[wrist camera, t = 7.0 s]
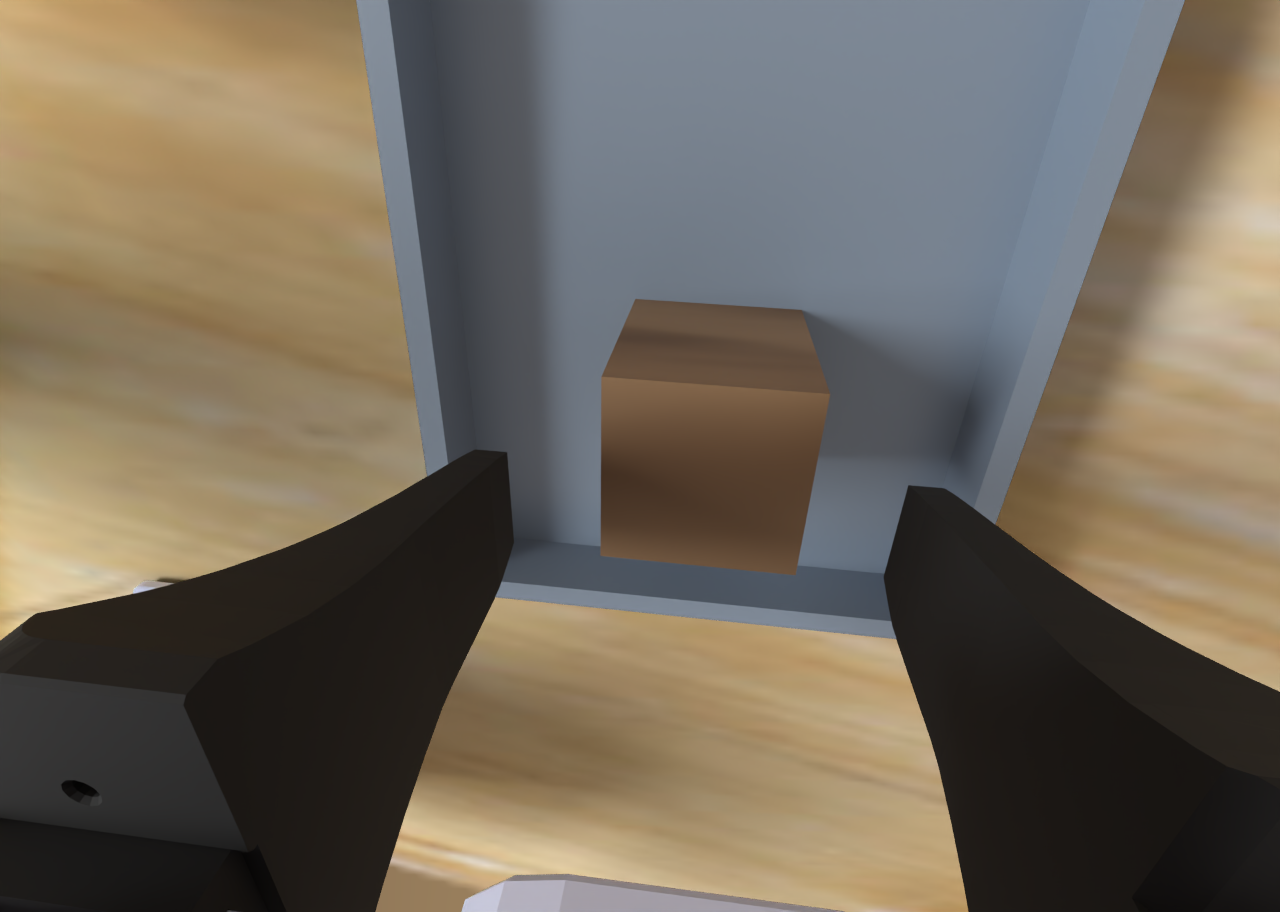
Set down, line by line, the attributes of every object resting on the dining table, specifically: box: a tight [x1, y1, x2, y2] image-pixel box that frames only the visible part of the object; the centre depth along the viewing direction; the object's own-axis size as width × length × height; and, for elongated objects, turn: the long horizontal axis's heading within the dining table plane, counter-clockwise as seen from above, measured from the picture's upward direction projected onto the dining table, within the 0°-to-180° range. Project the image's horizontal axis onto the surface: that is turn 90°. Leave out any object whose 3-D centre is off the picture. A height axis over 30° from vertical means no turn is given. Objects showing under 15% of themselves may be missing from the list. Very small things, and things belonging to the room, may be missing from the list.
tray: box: [356, 0, 1185, 639], centre depth 14 cm, size 20×14×2 cm
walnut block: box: [600, 299, 830, 575], centre depth 15 cm, size 4×4×5 cm
